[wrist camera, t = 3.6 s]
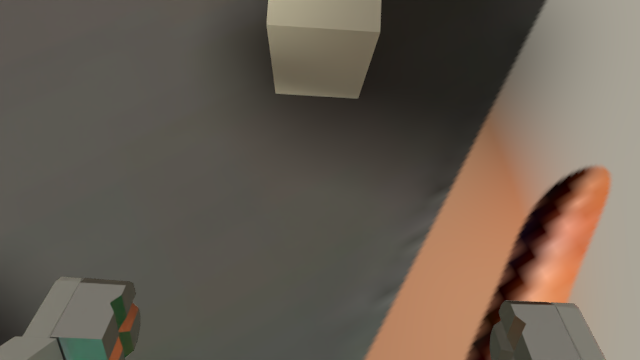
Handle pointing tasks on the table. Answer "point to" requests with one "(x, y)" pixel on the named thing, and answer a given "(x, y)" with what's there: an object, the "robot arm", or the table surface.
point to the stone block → (322, 45)
